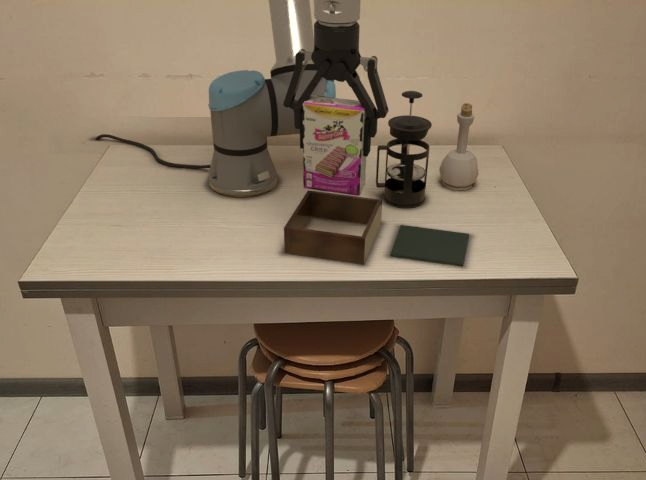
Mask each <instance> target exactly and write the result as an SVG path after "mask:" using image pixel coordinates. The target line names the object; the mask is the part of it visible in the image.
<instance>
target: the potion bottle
mask: <svg viewBox="0 0 646 480" xmlns="http://www.w3.org/2000/svg"><path fill="white" fill-rule="evenodd" d="M474 120H475V114H474V113H473V104H471V103H469V102H464V103H463V104H462V105H461V106H460V112H458V113H457V114H456V121H457V123H458V135H457V143H456V149H453V150H449V152H448V153H446V155H445V156H444V158H443V159H442V161H441V164H440V166H439V174H440V179H441V180H442V182H441V183H442V184H443V186H444V187H445V188H447V189H450V190H453V191H466V190H468V189H471V188H472V187H473V184H474V183H476V181H477V179H478V177H479V165H478V159H477V157H476V155H475V154H474V153H473V152H472V151H469V150H467V147H468V139H469V133H470V126H471V125H473V123H474Z"/></svg>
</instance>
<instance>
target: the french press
mask: <svg viewBox="0 0 646 480" xmlns="http://www.w3.org/2000/svg"><path fill="white" fill-rule="evenodd" d="M401 96H402V97H404V98H405V99H409V100H408V103H409V104H410V105H409V107H410V108H409V115H397V116H393V117H391V118H390V119H388V121H387V125H388V127H389V135H390V136H391V137H393V138H394V139H391V140H389V141H388V142H387V143H386V144H385V145H384V144H383V145H382V144H381V145H380V144H379V145H377V147H376V148H377V150H376V168H375V169H376V170H375V187H376V188H378V189H381V188H382V189H383V188H384V189H383V190H384V191H383V194H382V200H383V201H384V202H385V204H387V205H389V206H392V207H395V208H400V209H413V208H414V209H415V208H418V207H420V206H422V205H423V204H425V202H426V198H427V197H426V187H427V178H428V177H427V176H428V166H429V156H430V145H429V144H428V142H426V141H424V140H423V139H426V136H427V135H428V132H429V130H430V129H431V128H432V126H433V124H432V122H431V121H430V120H429V119H428V118H425V117H422V116H418V115H412V112H413V104H414V103H415V99H420V98H422V97H423V96H424V95H423V94H422V92H419V91H416V90H406V91H403V92H401ZM398 145H399V146H400V145H401V148H400V152H397V151H394V150H393V149H391V148H392V147H394V146H398ZM411 145H413V146H418V147H421V148H423V149H424V150H425V151H422V152H419V153H410V146H411ZM380 151H386V153H385V155H386V156H385V170H384V171H385V172H384V182H379V170H380ZM389 157H391V158H393V159H396V160H399V161H400V163H394V164H391V165H389V166H388V162H389ZM423 159H425V168H424V167H422V166H420V165H418V164H415V161H420V160H423ZM388 177H389V178H388ZM422 179H424V180H422ZM400 191H402V192H400Z"/></svg>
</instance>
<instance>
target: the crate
mask: <svg viewBox="0 0 646 480" xmlns="http://www.w3.org/2000/svg"><path fill="white" fill-rule="evenodd" d="M382 209H383V199H380V198H372V197H363V196H356V195H349V194H341V193H334V192H327V191H319V190H311V189H307V190H306V192H305V194H304V195H303V197H302V198H301V200H300V202H299V203H298V205H297V206H296V208H295V210H294V211H293V213H292V214H291V216H290V217H289V219H288V220H287V222H286V223H285V225H284V226H283V242H284V243H283V245H284V254H287V255H295V256H301V257H307V258H308V257H309V258H317V259H322V260H329V261H337V262H343V263H350V264H351V263H352V264H359V265H365V263H366V261H367V258H368V256H369V254H370V251H371V249H372V247H373V244H374V242H375V239H376V237H377V234H378V232H379V230H380V227H381V225H382V214H383V213H382V211H383V210H382ZM311 217H312V218H320V219H328V220H334V221H335V220H336V221H343V222H350V223H357V224H365V225H366V226H365V229H364V230H363V233H362V235H354V234H347V233H341V232H333V231H325V230H318V229H310V228H305V227H306V225H307V224H308V222H309V220H310V219H311Z"/></svg>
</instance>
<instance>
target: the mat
mask: <svg viewBox="0 0 646 480" xmlns="http://www.w3.org/2000/svg"><path fill="white" fill-rule="evenodd" d="M469 238H470V233H466V232H460V231H452V230H444V229H435V228H430V227H429V228H428V227H421V226H413V225H406V224H400V227H399V229H398V232H397V235H396V237H395V240H394V242H393V245H392V248H391V251H390V253H389V254H390V255H389V257H394V258H399V259H409V260H415V261H420V262H421V261H422V262H430V263H437V264H443V265H451V266H457V267H464V262H465V257H466V253H467V249H468V248H467V247H468V243H469Z"/></svg>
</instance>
